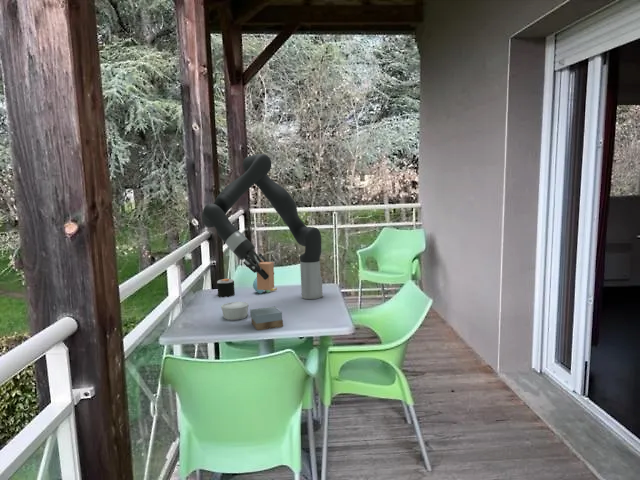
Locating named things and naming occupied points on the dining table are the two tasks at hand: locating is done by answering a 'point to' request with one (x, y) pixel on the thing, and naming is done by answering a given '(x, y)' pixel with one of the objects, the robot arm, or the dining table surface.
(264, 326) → the walnut base slab
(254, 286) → the toy flower bud
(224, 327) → the dining table surface
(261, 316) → the slate top slab
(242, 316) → the ramekin
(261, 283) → the terracotta block
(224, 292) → the sushi
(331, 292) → the dining table surface
